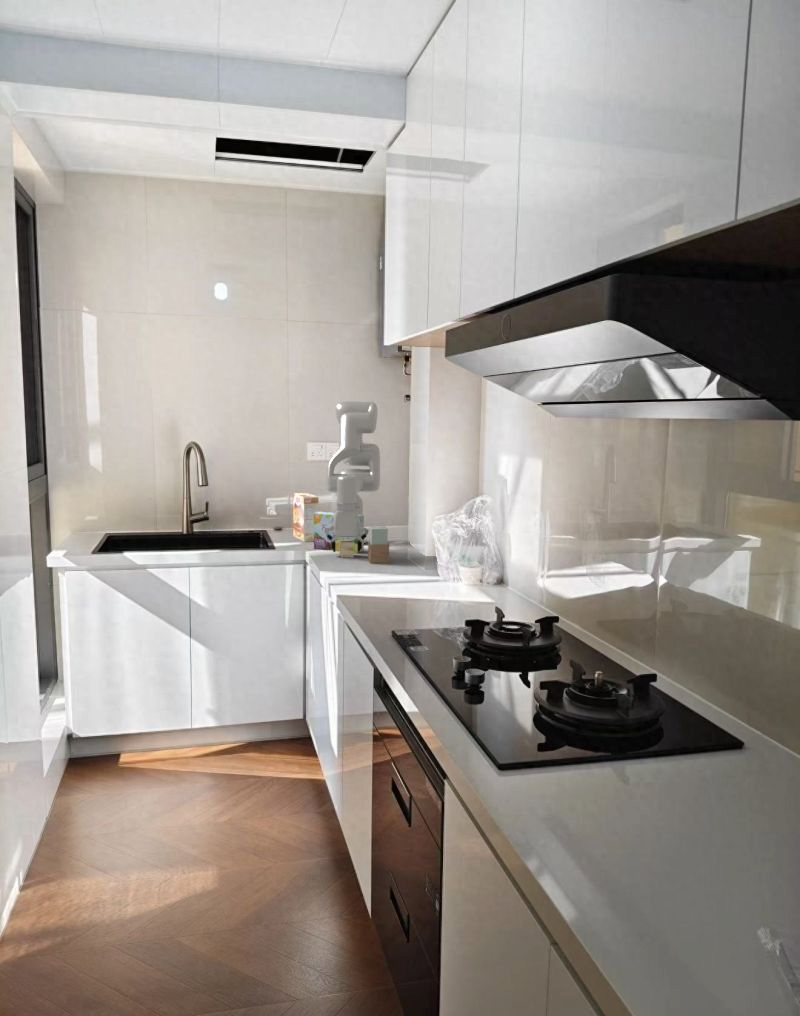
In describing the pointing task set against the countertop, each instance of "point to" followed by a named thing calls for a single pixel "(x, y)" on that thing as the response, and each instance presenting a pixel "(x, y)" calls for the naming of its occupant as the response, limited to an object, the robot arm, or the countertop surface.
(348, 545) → the ash block
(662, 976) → the countertop surface
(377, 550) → the walnut base block
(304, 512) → the coffeecake box
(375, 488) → the robot arm
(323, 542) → the snack box
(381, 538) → the sage top block
